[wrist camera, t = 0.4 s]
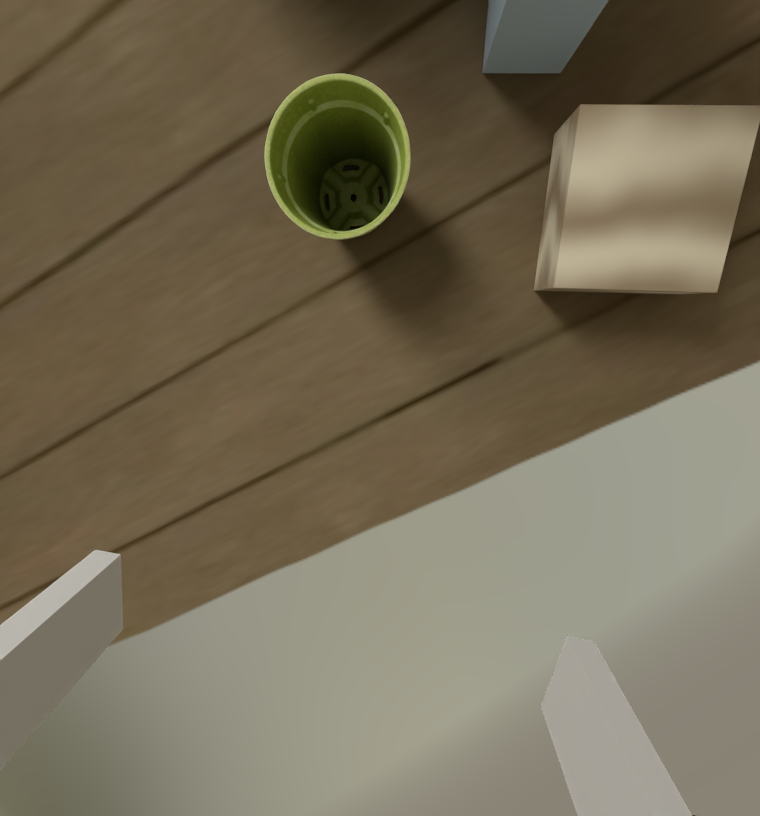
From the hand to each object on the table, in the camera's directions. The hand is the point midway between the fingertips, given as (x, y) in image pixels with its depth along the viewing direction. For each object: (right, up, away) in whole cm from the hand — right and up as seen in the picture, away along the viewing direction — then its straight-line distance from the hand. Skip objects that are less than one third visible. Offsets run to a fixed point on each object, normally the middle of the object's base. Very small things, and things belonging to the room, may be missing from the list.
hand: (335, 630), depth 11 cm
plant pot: (-1, +25, +22) cm, 33 cm away
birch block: (+21, +23, +21) cm, 37 cm away
